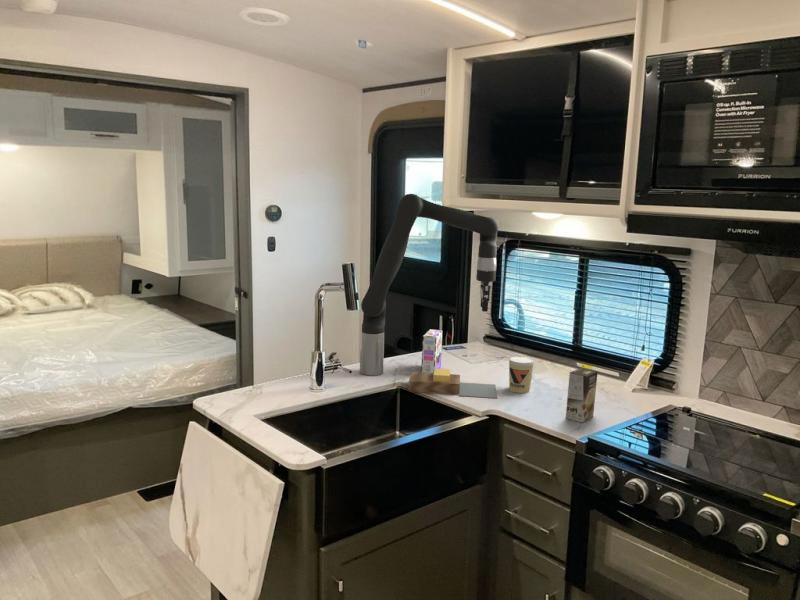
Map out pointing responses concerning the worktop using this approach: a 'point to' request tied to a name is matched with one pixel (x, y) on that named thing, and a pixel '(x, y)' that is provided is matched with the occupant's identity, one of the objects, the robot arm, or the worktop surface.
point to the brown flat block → (433, 383)
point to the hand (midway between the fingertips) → (483, 309)
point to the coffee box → (581, 394)
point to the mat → (478, 390)
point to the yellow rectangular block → (441, 375)
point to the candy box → (431, 351)
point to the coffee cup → (520, 374)
